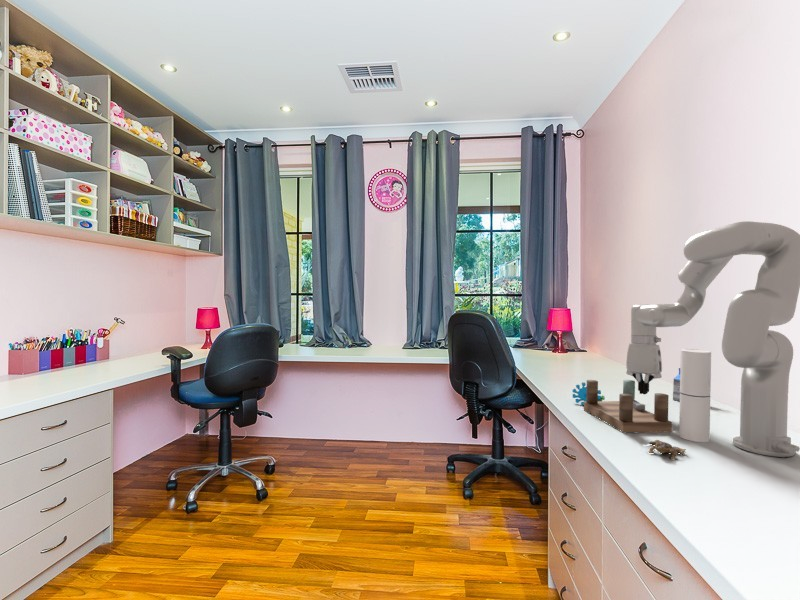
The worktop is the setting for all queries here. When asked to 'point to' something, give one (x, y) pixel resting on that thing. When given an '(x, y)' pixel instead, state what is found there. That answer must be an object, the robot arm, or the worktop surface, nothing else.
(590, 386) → the stool seat
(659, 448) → the frog figurine
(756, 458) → the worktop surface
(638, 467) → the worktop surface
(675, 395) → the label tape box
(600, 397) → the blue spiky piece
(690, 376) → the cylindrical container
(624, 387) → the swing leg
